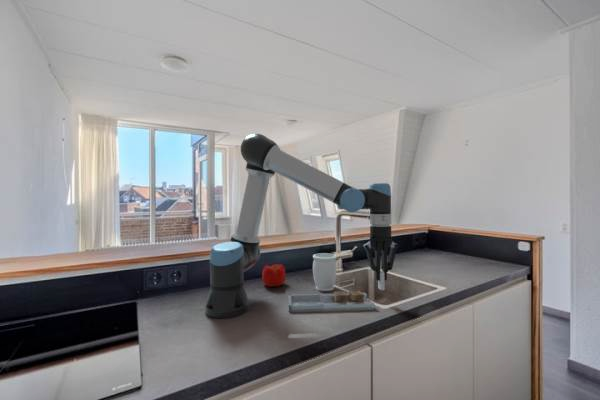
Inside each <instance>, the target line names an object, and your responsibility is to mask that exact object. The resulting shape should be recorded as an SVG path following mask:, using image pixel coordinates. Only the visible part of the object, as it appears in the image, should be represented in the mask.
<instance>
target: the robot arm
mask: <svg viewBox="0 0 600 400" xmlns="http://www.w3.org/2000/svg"><path fill="white" fill-rule="evenodd" d="M240 155H241V156H242V159H243V160H244V161H245V162H246V166H245V170H246V172H247V173H248V176H247V179H246V184H245V190H244V194H243V197H242V198H243V199H242V204H241V208H240V213H239V217H238V218H239V219H238V222H237V227H236V231H235V232H234V233H232V234H231V237H230V241H226V242H225V241H224V242H222V243H217V244H215V245H213V246H212V247H211V249H210V252H209V276H210V277H209V281H210V282H209V283H210V285H209V286H210V287H209V289H210V290H209V292H208V296H207V300H206V302H205V307H204V308H205V310H204V311H205V315H206V316H208V317H210V318H214V319H215V318H216V319H229V318H235V317H238V316H240V315H243V314H245V313H246V312H247V311H249V308H250V307H249V306H250V305H249V304H250V303H249V297H248V296H247V295H248V294H247V292H246V289H245V285H244V282H245V281H244V280H245V279H244V278H245V277H244V276H245V274H244V273H245V272H246V271H248V270H249V269H251V268H252V267H254V266H256V264H257V262H258V260H259V259H260V256H261V248H260V242H261V239H260V238H259V236H258V234H259V230H260V225H261V222H262V216H263V212H264V211H263V210H264V207H265V203H266V202H265V201H266V198H267V193H268V187H269V185H270V179H271V178H273V177H274V176H275V174H279V175H280V176H282V177H284V178H286V179H288V180H290V181H291V182H294V183H295V184H297V185H299V186H301V187H303V188H305V189H307V190H309V191H310V192H312V193H314V194H316V195H318V196H320V197H321V198H324V199H325V200H327V201H329V202H331V203H333V204H335V205H336V206H337V209H338V210H345V211H346V212H348V213H356V212H358V211H360V210H369V224H370V227H369V231H370V232H369V239H368V242H367V243H364V244H363V245H362V247H363V248H364V250H365V252H366V256H367V261H368V263H369V268H370V269H371V270H372V271H374V272H375V280H376V281H377V288H378V289H379V290H380V291H385V289H386V288H385V285H386V284H385V283H386V281H387V280H388V272H389V271H391V270H392V269H393V266H394V261H395V257H396V252H397V250H398V248H399V246H400V245H399V244H398V243H395V242H394V241H393V238H392V226H391V224H392V191H391V185H390V183H387V182H384V183H383V182H380V183H370V184H369V187H368V188H364V189H363V188H362V189H361V188H359V189H358V188H355V187H354V186H351V185H349V184H347V183H345V182H343V181H341V180H340V179H337V178H336V177H333V176H332V175H329V174H328V173H326V172H325V171H322V170H321V169H318V168H316V167H314V166H312V165H311V164H309V163H306V162H304V161H302V160H300V159H299V158H296V157H294V156H293V155H291V154H289V153H287V152H285V151H284V150H281V148H280V146H279V145H278V144H277V143H276V142H275V141H274V140H272V139H271V138H268V137H267V136H266V135H263V134H261V133H252V134H249V135H247V136H246V137H245V138H244V139H243V140H242V142H241V144H240ZM371 248H372V249H374V257H373V253H372V250H371ZM389 249H390V250H389ZM388 251H389V254H388Z"/></svg>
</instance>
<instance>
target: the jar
mask: <svg viewBox="0 0 600 400" xmlns="http://www.w3.org/2000/svg"><path fill="white" fill-rule="evenodd" d="M337 257H338V256H337V255H336V254H334V253H328V252H323V253H322V252H320V253H314V254H312V258H313V261H312V275H313V281H314V284H315V289H316V290H318V291H323V292H328V291H333V290H334V289H335V287H334V286H335V284H336V279H337V273H338V271H337V270H338V267H337V266H338V265H337V261H336V260H337Z"/></svg>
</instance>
